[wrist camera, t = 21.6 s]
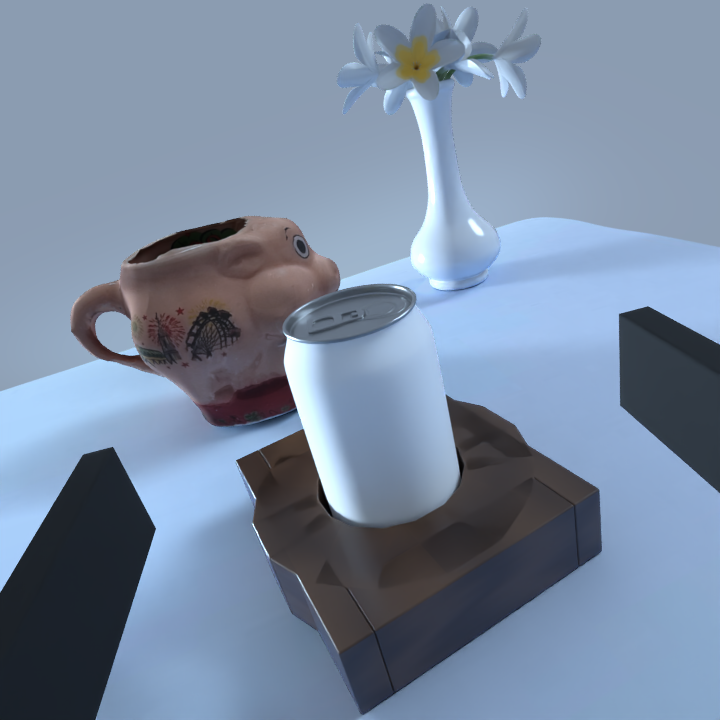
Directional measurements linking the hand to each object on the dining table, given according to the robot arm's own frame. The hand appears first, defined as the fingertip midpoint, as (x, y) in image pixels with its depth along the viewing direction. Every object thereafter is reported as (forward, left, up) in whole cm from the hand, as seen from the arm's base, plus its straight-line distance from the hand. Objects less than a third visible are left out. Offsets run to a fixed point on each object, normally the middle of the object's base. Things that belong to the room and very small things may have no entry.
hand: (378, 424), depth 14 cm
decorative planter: (0, +28, -12) cm, 31 cm away
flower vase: (+27, +35, -12) cm, 46 cm away
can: (+3, +8, -12) cm, 15 cm away
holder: (+3, +8, -12) cm, 15 cm away
